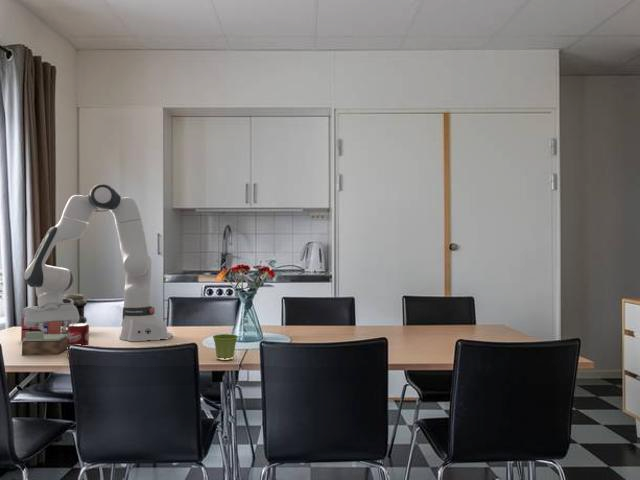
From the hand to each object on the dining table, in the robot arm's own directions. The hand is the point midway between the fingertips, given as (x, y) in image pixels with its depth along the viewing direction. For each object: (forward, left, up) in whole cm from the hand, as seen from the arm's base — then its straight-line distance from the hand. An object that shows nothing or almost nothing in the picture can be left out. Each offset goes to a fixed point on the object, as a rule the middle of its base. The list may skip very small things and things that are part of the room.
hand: (54, 332), depth 205 cm
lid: (0, +10, -1) cm, 10 cm away
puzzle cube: (+12, -18, -6) cm, 22 cm away
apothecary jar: (+3, -33, -6) cm, 33 cm away
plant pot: (-70, +28, -6) cm, 75 cm away
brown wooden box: (0, +10, -6) cm, 12 cm away
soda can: (-15, +18, -6) cm, 24 cm away
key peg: (0, -1, -6) cm, 6 cm away
